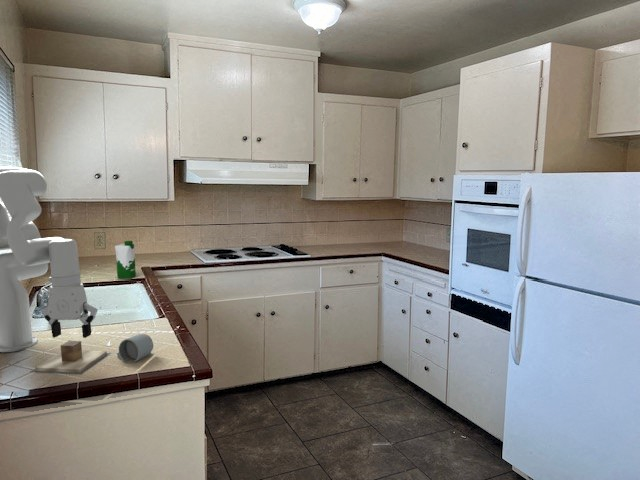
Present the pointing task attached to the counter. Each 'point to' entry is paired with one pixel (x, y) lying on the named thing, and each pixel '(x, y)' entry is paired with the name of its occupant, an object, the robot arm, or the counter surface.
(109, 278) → the counter surface
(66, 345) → the lid
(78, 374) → the mat
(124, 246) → the milk carton
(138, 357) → the ceramic mug
